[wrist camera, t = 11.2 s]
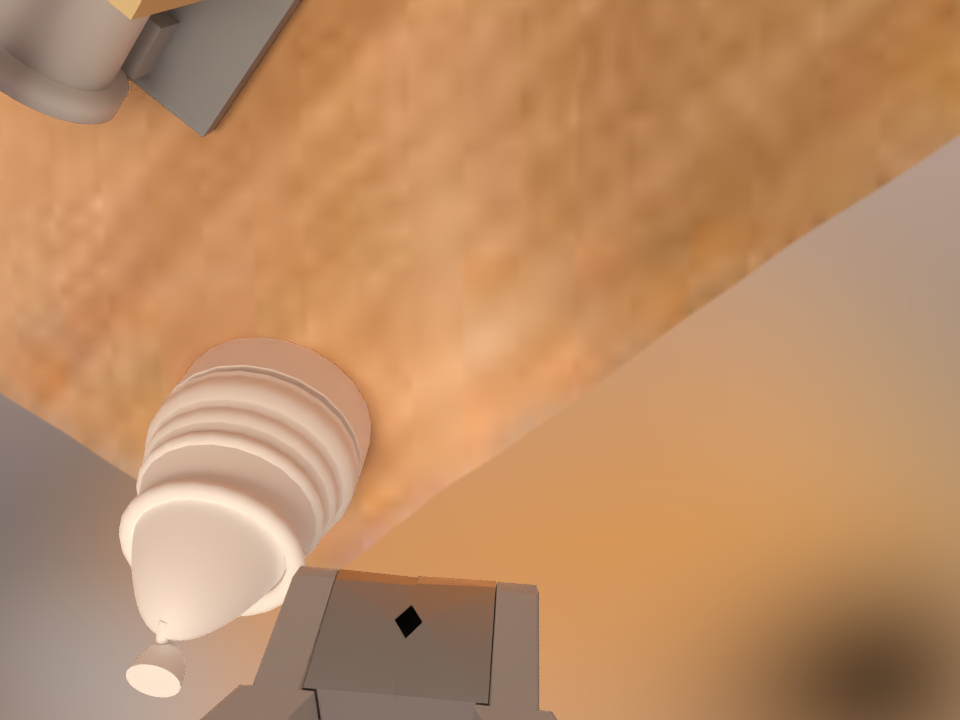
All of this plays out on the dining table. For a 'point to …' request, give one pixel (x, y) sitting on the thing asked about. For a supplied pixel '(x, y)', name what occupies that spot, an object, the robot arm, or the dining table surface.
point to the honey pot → (236, 491)
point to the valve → (134, 54)
